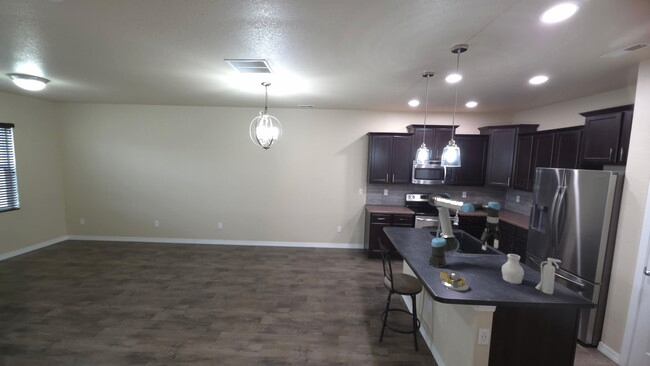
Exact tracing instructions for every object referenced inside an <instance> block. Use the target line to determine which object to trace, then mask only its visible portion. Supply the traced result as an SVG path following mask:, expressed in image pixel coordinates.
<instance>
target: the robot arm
mask: <svg viewBox="0 0 650 366" xmlns="http://www.w3.org/2000/svg"><path fill="white" fill-rule="evenodd" d="M427 200H428V204H429V205H431V206H433V207H436V209H437V210H438V215H439V221H440V226H441V233H442V236H440V237H434V238H433V239H432V240H431V247H430V249H431V250H430V256H429V259H428V262H429V263H430V264H431V265H433V266H432V267H434V266H437V267H436V268H438V267H445V268H447V267H446V266H447V265H448V263H447V260H446V253H451V252H456V251H458V249H460V242H459V240H458V239H457V238H456V236H455V235H454V233H453V227H452V222H451V216H450V211H449V209H452V210H456V211H461V212H463V213H466V214H474V213H483V214H487V215H486V225H485V226H486V228H484V230H483V233H482V235H481V237H480V241H482V243H481V245H482V246H481V250H484V251H487V244H488V242H487V241H488V239H489V237H490V236H491V235H493V238H494V241H493V248H494V249H499V241H501V240H502V237H501V233H500V227H499V218H500V210H501V204H500V203H499V202H497V201H496V202H495V201H489V202H488V203H485V202H481V201H479V202H478V201H474V202H472V203H471V202H467V201H466V202H465V201H461V200H455V199H452V197H451V195H450V194H448V193H446V192H445V193H444V192H439V193H438V192H437V193H432V194H430V195H429V196H428V199H427ZM429 263H428V264H429ZM431 265H430V266H431Z"/></svg>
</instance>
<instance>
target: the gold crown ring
mask: <svg viewBox="0 0 650 366" xmlns="http://www.w3.org/2000/svg"><path fill="white" fill-rule="evenodd" d="M439 276H440V277H439V278H440V279H441V280H442V279H444V280H445V281H446V282H447V283H449V284H450V285H453V281H456V282H458V286H461V287H462V286H464V285H465V282H466V278H464V277H462V276H460V281H457V279H454V280H451V274H449V272H446V271H444V270H441V271H440V273H439Z"/></svg>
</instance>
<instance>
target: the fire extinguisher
mask: <svg viewBox="0 0 650 366" xmlns="http://www.w3.org/2000/svg"><path fill="white" fill-rule="evenodd" d="M553 263H554V265H555V266H556V267H555V266H553ZM558 263H562V261H561V260H560V259H556V258H551V257H548V258H547V260H545V261H542V262H541V263H540V281H539V283H538V284H537V285H536V286H535V289H537V290H539V291H541V292H542V293H545V294H548V295H553V294H554V288H555V287H554V286H555V285H554V284H555V276H556V275H555V274H556V269H559V268H560V266H559V265H558ZM543 264H544V266H543Z"/></svg>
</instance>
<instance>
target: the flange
mask: <svg viewBox="0 0 650 366" xmlns="http://www.w3.org/2000/svg"><path fill="white" fill-rule="evenodd" d="M450 275H451V280H454V279H457V281H460V277H461V274H460V273H459V272H456V271H451V272H450ZM442 284H443V285H444V286H445V287H444V286H443V285H442ZM441 285H442V286H443V287H444V288H446V289H448V288H449V289H448V290H450V291H451V290H452V291H455V292H467V291H469V288H470V285H469V284H468V282H466V281H465V285H464V286H462V287H461V286H458V282H456V281H453V285H450V284H449V283H447V282H446V281H445V280H444V279H441Z"/></svg>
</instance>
